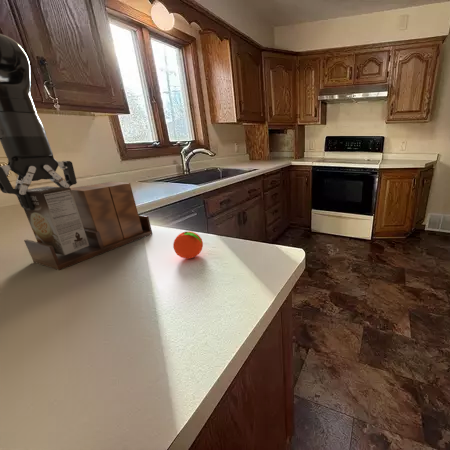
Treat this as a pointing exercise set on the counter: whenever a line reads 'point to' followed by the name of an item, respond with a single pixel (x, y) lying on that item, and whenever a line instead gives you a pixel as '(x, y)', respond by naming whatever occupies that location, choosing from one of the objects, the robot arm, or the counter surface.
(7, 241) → the counter surface
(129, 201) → the book rack
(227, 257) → the counter surface
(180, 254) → the clementine
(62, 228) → the coffee box
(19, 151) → the robot arm
